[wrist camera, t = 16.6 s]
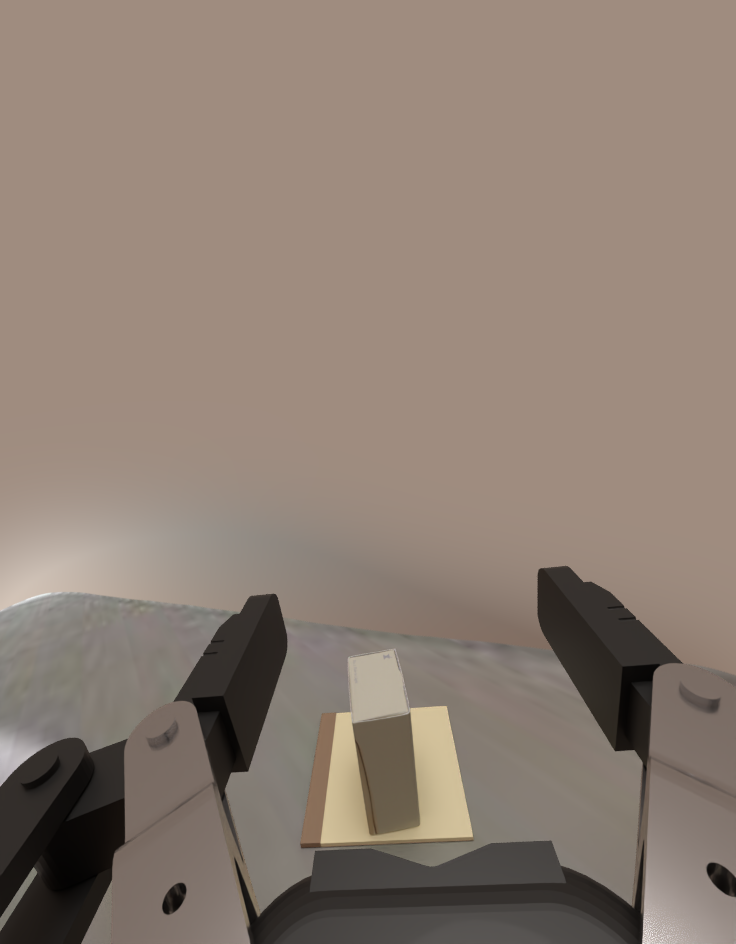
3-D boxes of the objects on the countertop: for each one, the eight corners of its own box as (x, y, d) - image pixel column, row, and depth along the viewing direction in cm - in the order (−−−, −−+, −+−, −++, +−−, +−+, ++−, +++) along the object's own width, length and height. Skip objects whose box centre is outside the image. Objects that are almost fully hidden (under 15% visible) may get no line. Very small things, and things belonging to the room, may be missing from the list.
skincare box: (363, 757, 33) (345, 654, 30) (408, 748, 34) (395, 645, 30) (369, 841, 27) (348, 723, 24) (425, 829, 28) (411, 711, 24)
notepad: (446, 708, 38) (446, 705, 37) (473, 840, 27) (473, 835, 27) (322, 717, 38) (321, 713, 38) (301, 847, 28) (300, 843, 28)
